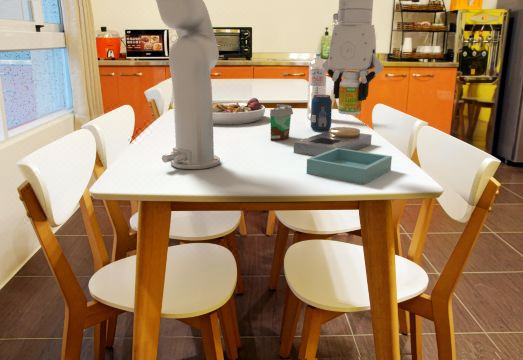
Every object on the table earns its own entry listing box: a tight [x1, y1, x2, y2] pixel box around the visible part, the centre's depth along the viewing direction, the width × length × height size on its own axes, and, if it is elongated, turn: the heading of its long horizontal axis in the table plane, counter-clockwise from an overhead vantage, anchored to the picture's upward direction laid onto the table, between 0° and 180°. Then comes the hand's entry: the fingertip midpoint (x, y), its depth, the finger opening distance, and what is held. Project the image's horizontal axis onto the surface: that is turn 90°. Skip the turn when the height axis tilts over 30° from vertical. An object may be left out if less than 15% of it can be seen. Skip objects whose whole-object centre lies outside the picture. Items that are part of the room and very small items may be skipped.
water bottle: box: [306, 52, 327, 121], centre depth 186 cm, size 7×7×25 cm
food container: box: [269, 103, 294, 142], centre depth 153 cm, size 12×6×10 cm, turn 168°
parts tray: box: [306, 148, 393, 185], centre depth 116 cm, size 15×15×4 cm
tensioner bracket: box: [293, 126, 373, 157], centre depth 140 cm, size 23×13×4 cm, turn 143°
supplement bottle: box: [337, 70, 362, 116], centre depth 114 cm, size 5×5×10 cm
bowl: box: [212, 97, 266, 126], centre depth 188 cm, size 30×30×8 cm
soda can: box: [310, 94, 333, 133], centre depth 166 cm, size 7×7×12 cm
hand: (350, 98), depth 114 cm, fingers closed on supplement bottle, 5 cm apart
